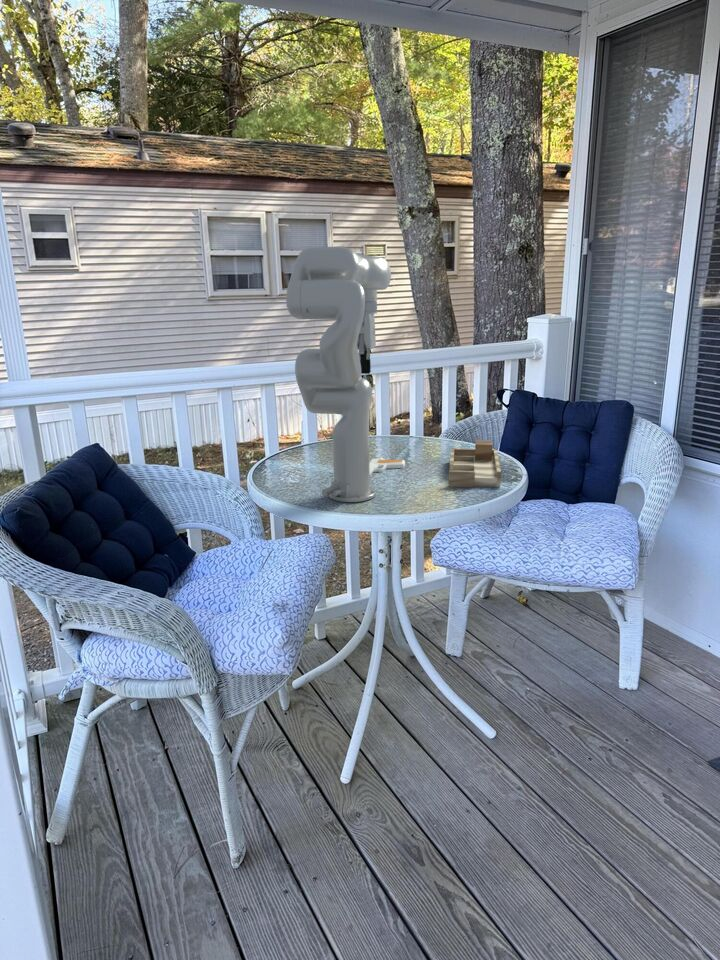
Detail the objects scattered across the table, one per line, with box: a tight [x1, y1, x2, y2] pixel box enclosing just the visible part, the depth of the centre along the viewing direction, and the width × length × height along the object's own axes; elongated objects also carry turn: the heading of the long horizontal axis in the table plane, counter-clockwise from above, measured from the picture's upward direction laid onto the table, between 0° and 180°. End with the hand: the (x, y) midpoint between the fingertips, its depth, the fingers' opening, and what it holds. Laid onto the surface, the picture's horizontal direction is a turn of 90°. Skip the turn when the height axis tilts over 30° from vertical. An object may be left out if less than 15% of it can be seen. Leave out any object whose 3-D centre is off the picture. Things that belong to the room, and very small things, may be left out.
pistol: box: [369, 457, 406, 476], centre depth 192 cm, size 2×20×11 cm
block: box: [474, 439, 494, 461], centre depth 194 cm, size 5×5×5 cm
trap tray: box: [448, 448, 502, 488], centre depth 187 cm, size 26×14×4 cm, turn 171°
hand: (364, 373), depth 186 cm, fingers closed
